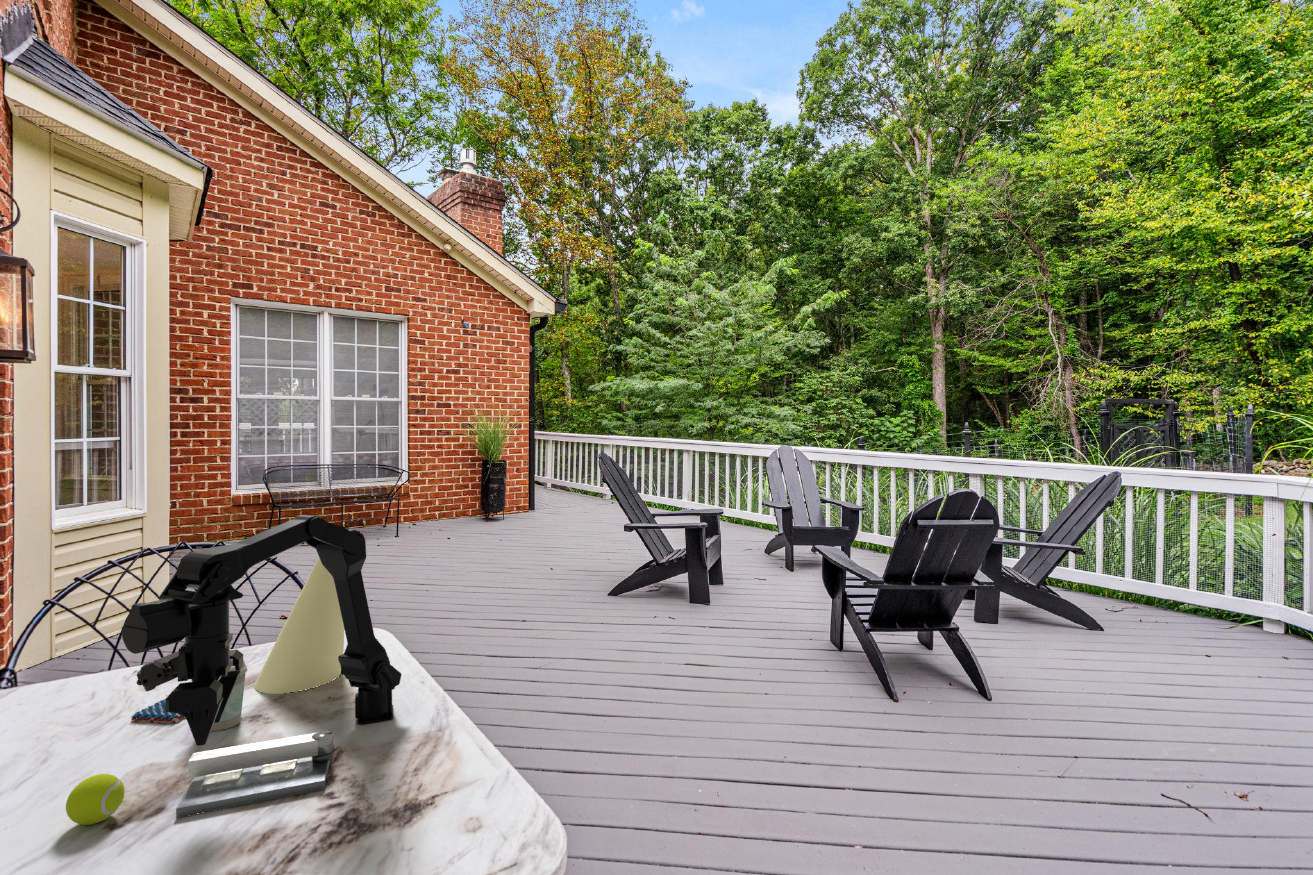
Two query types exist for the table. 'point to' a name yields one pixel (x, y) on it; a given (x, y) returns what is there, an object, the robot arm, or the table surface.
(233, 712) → the coffee cup
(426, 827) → the table surface
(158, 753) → the table surface
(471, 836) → the table surface
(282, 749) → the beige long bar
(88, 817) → the tennis ball
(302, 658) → the cone light
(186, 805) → the panel
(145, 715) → the woven mat
